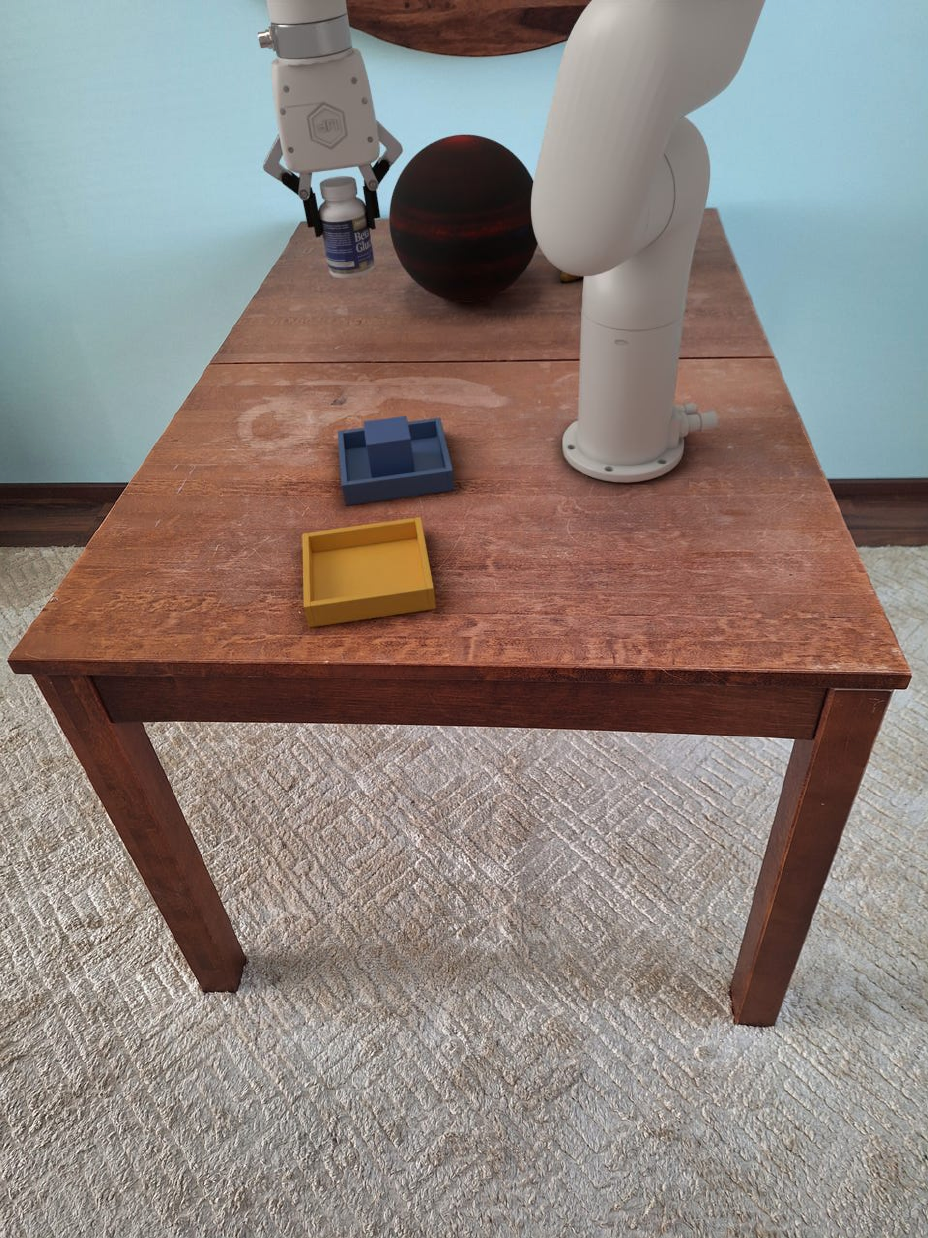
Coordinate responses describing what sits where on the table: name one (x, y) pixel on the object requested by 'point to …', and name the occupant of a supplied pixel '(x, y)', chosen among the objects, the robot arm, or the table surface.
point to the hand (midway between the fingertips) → (345, 227)
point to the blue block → (389, 446)
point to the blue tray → (426, 479)
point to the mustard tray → (366, 572)
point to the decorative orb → (463, 218)
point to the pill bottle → (345, 229)
